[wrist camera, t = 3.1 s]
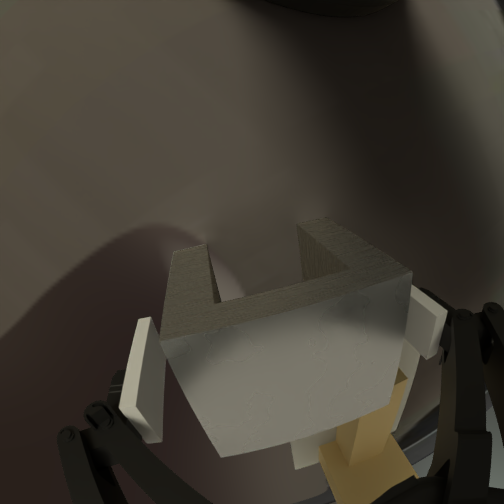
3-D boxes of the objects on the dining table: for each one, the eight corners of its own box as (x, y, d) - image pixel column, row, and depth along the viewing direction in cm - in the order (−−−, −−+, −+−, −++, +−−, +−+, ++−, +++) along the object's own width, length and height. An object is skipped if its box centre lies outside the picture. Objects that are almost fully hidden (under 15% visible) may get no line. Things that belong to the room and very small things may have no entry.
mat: (275, 363, 20) (277, 367, 20) (427, 308, 21) (430, 310, 21) (294, 467, 27) (295, 469, 27) (394, 428, 29) (395, 430, 29)
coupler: (317, 373, 21) (385, 501, 10) (401, 340, 21) (485, 434, 10) (318, 460, 27) (351, 537, 16) (377, 436, 28) (417, 505, 17)
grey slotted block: (173, 251, 16) (158, 340, 8) (326, 217, 17) (412, 271, 9) (208, 358, 19) (221, 457, 11) (332, 325, 20) (388, 404, 12)
